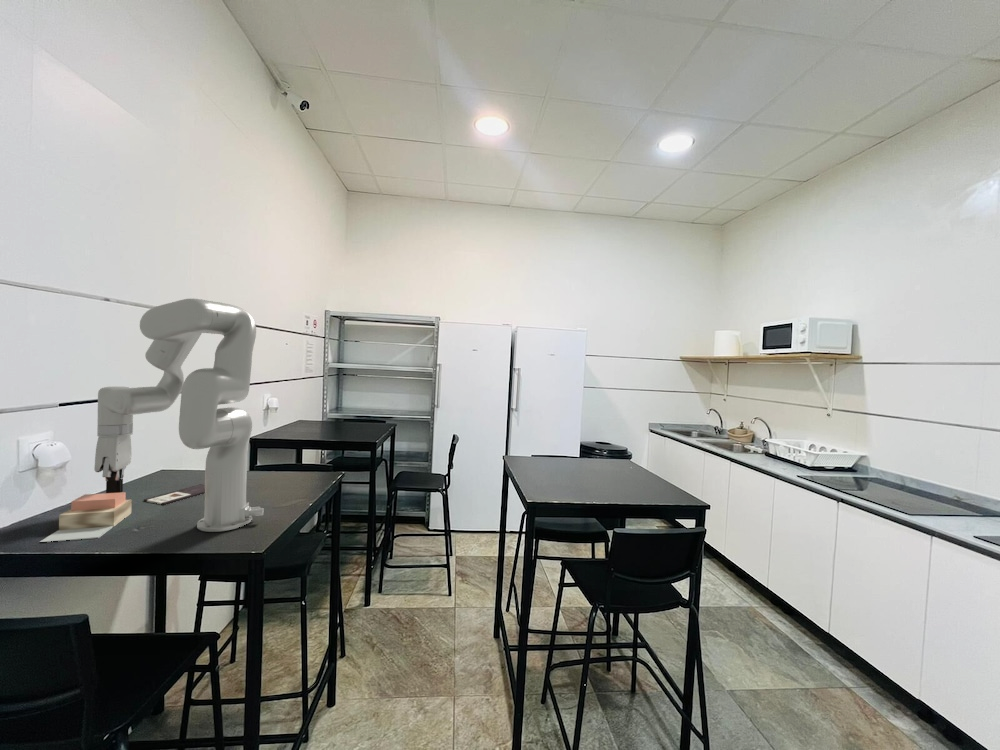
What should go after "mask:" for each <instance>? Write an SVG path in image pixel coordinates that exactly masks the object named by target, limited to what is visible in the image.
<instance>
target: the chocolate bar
mask: <svg viewBox="0 0 1000 750" xmlns="http://www.w3.org/2000/svg"><path fill="white" fill-rule="evenodd" d="M204 493H205V484H198V485H191V486H188V487H185V488H181V489H179V490H174V491H170V492H165V493H163V494H159V495H155V496H151V497H147V498H144V499H143V502H147V503H152V504H156V503H157V505H161V504H162V506H166V504H167V505H170V503H171V504H174V503H177V502H176V501H178V502H180V500H181V501H184V500H187V498H188V499H191V498H194V497H193V496H195V497H197V495H198V496H201V495H200V494H202V495H205V494H204ZM190 497H191V498H190ZM183 499H184V500H183ZM173 502H174V503H173Z"/></svg>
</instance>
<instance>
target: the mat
mask: <svg viewBox="0 0 1000 750" xmlns="http://www.w3.org/2000/svg"><path fill="white" fill-rule="evenodd" d="M113 528H114V527H113V526H109V527H96V528H83V529H70V530H59V529H58V530H56V531H55V532H53V533H51V534H50V535H48V536H46V537H45V538H44V539H42V540H40V541H39V542H47V543H54V542H53V541H58V542H67V541H66V540H70V541H80V540H81V539H82V540H92V539H94V540H95V539H100V538H101V537H102V536H103V535H104V534H106V533H107V532H109V531H110V530H111V529H113ZM82 540H81V541H82ZM51 541H52V542H51Z"/></svg>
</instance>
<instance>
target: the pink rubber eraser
mask: <svg viewBox="0 0 1000 750" xmlns="http://www.w3.org/2000/svg"><path fill="white" fill-rule="evenodd" d="M126 493H127V492H126V491H125V492H124V491H123V492H121V493H106V492H104V493H88V494H87V493H86V494H83V495H81V496H79V497H77V498H75V499H74V500H72V501H71V502H70V503H71V508H70V509H71V511H76V510H91V509H106V508H116V507H117V506H119V505H120V504H121V503H123V502H124V501H126V500H127V498H126V495H127V494H126Z"/></svg>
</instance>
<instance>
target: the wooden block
mask: <svg viewBox="0 0 1000 750" xmlns="http://www.w3.org/2000/svg"><path fill="white" fill-rule="evenodd" d="M132 502H133V501H132V499H129V498H128V499H126V501H124V502H123V503H121V504H120V505H119V506H117V507H116V508H106V509H91V510H76V511H71V508H69V509H68V510H66V511H64V512H62V513H61V514H58V515H59V516H58V530H70V529H83V528H96V527H109V526H113V528H114V527H115V526H117V525H118V524H119V523H120V522H122V521H124V518H125V519H126V518H127V517H129V516H130V515H131V514H132Z"/></svg>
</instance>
